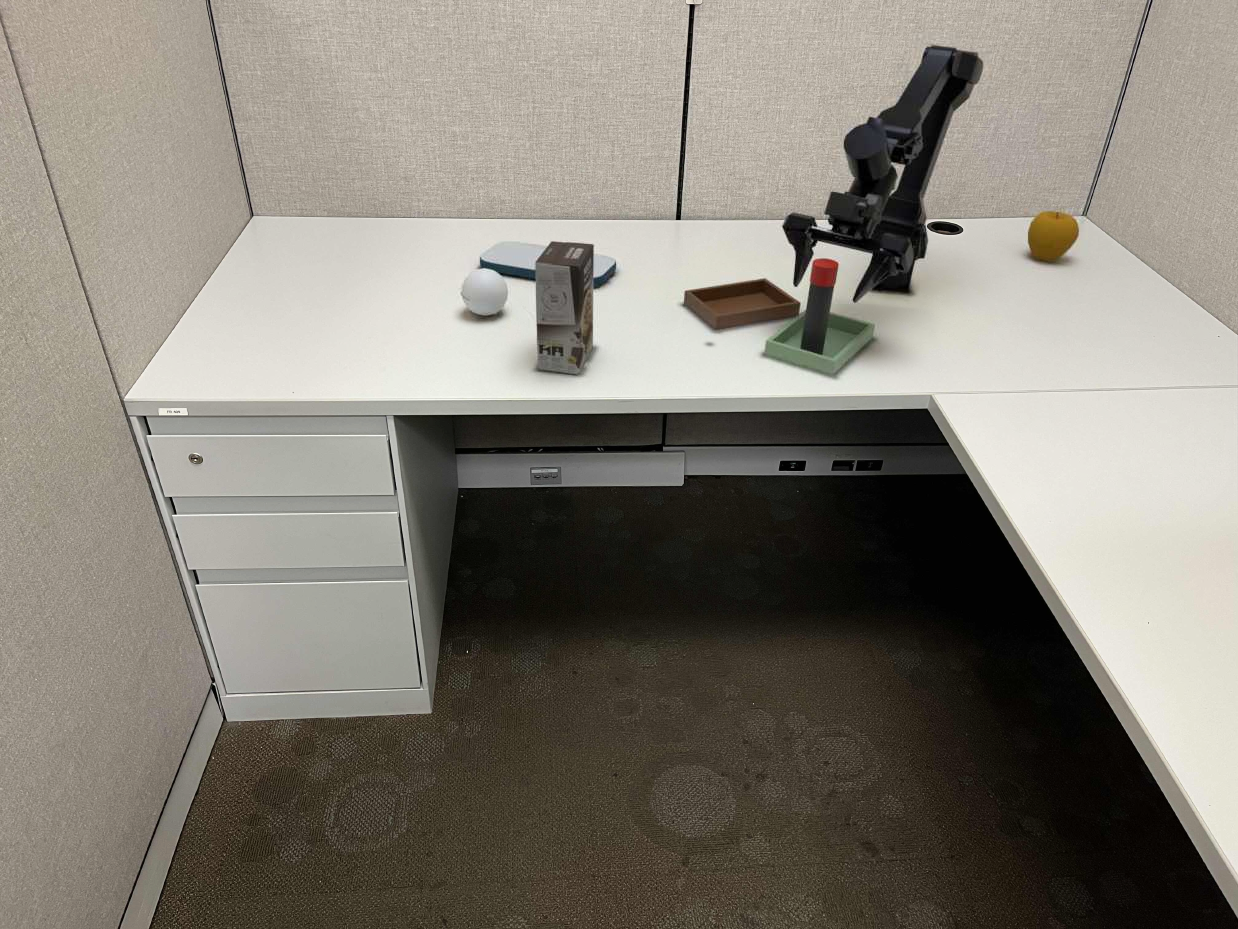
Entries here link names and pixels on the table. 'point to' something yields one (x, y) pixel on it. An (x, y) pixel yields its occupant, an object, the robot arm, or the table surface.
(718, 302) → the walnut tray
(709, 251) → the table surface
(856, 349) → the green tray
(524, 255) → the blue white rounded slab
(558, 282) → the coffee box
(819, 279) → the thermos
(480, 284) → the white rounded piece
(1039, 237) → the apple
